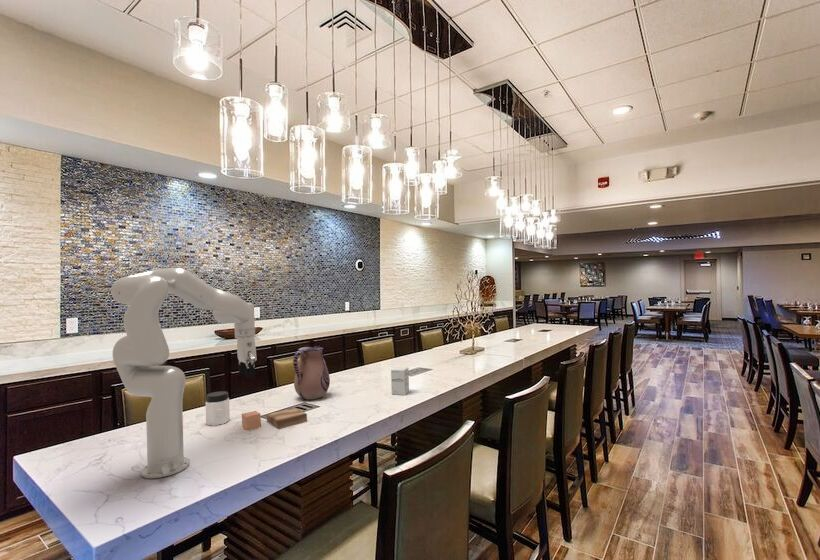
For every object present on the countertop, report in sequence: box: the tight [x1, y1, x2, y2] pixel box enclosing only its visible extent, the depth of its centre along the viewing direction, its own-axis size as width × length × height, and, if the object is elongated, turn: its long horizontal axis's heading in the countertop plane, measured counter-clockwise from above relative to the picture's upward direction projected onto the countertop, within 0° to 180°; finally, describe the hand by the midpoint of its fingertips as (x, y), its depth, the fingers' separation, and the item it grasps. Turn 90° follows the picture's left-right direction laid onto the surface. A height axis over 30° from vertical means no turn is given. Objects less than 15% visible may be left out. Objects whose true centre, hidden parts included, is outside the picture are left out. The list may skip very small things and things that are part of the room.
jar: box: [205, 390, 231, 427], centre depth 163 cm, size 9×8×12 cm
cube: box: [241, 410, 262, 431], centre depth 155 cm, size 6×6×6 cm
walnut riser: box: [266, 407, 308, 429], centre depth 160 cm, size 12×12×3 cm
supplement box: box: [390, 366, 410, 396], centre depth 197 cm, size 7×7×13 cm
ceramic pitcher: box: [292, 346, 331, 401], centre depth 194 cm, size 18×21×25 cm
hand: (247, 376), depth 156 cm, fingers open, 9 cm apart
